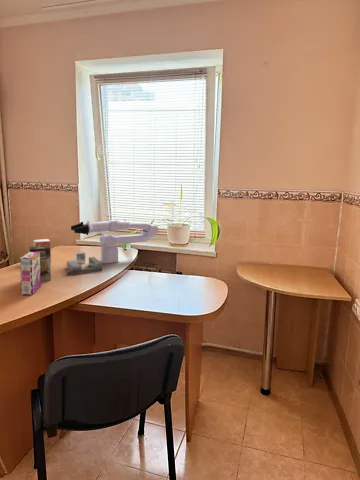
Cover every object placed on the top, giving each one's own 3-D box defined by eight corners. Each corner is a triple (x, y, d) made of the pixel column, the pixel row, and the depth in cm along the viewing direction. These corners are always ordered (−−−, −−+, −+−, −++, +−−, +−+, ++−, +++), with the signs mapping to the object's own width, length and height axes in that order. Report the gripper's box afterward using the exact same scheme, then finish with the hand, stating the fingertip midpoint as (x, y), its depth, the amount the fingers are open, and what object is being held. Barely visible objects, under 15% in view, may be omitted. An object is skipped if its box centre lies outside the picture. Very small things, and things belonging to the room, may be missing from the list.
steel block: (83, 261, 195) (83, 251, 194) (85, 263, 192) (85, 253, 190) (74, 262, 192) (74, 252, 191) (76, 264, 189) (76, 253, 188)
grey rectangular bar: (74, 266, 184) (74, 260, 183) (81, 273, 172) (81, 266, 171) (67, 267, 182) (66, 261, 181) (73, 274, 170) (73, 267, 169)
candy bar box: (33, 295, 141) (31, 258, 137) (21, 295, 140) (18, 257, 137) (41, 286, 152) (40, 251, 148) (30, 286, 151) (28, 251, 148)
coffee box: (30, 282, 156) (29, 249, 153) (29, 278, 161) (28, 246, 158) (51, 280, 160) (50, 248, 157) (49, 276, 166) (48, 245, 162)
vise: (94, 264, 189) (94, 256, 188) (102, 271, 178) (102, 263, 177) (61, 268, 180) (61, 260, 179) (67, 275, 168) (67, 266, 167)
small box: (36, 264, 184) (35, 242, 181) (33, 262, 189) (32, 239, 186) (51, 263, 188) (50, 240, 186) (48, 260, 194) (48, 238, 191)
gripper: (93, 217, 194) (69, 220, 188) (100, 222, 182) (75, 224, 175) (93, 229, 196) (70, 232, 189) (101, 234, 184) (76, 237, 177)
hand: (72, 229), depth 183 cm, fingers open, 7 cm apart
